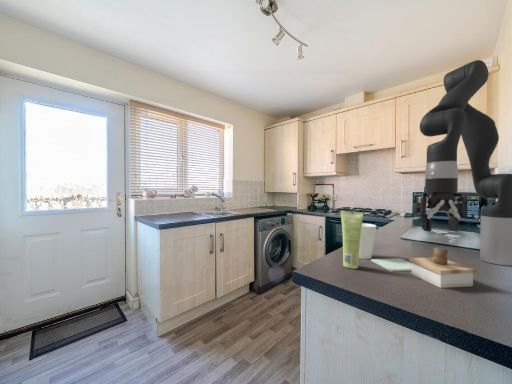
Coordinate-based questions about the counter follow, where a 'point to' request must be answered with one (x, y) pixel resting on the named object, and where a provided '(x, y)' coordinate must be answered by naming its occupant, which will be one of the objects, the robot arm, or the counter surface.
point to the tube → (351, 237)
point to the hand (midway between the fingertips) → (439, 230)
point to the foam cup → (367, 240)
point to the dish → (443, 277)
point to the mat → (394, 264)
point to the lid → (442, 263)
